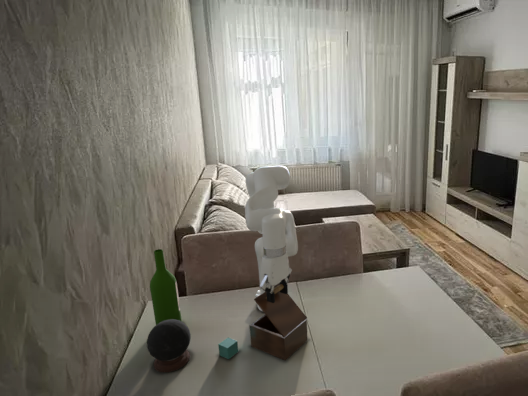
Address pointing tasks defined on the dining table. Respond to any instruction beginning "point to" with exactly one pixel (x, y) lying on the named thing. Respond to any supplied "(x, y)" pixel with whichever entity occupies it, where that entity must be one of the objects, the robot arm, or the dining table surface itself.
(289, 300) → the chest lid
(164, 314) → the wine bottle
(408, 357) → the dining table surface
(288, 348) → the chest
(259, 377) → the dining table surface
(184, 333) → the ball on stand
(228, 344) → the block
